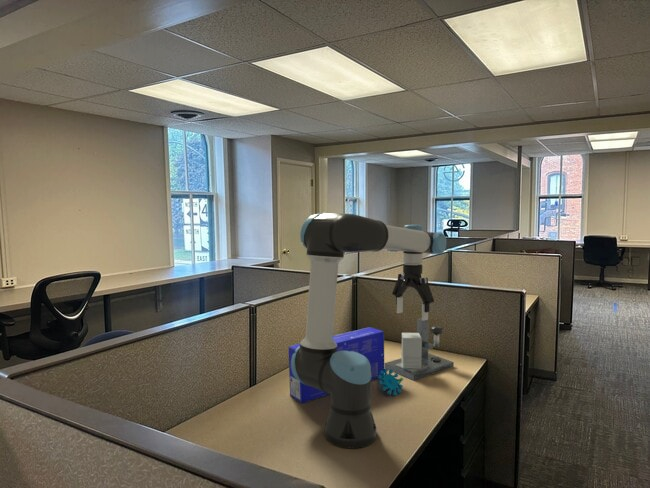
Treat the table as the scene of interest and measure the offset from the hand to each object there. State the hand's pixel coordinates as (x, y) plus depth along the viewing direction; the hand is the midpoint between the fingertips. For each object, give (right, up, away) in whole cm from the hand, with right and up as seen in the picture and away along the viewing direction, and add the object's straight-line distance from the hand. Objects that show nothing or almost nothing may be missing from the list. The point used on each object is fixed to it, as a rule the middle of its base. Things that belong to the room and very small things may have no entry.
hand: (411, 316), depth 171 cm
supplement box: (0, -20, +2) cm, 20 cm away
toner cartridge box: (-30, -24, -12) cm, 40 cm away
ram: (+12, -14, +9) cm, 20 cm away
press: (+4, -22, +6) cm, 23 cm away
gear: (-11, -25, -17) cm, 32 cm away
